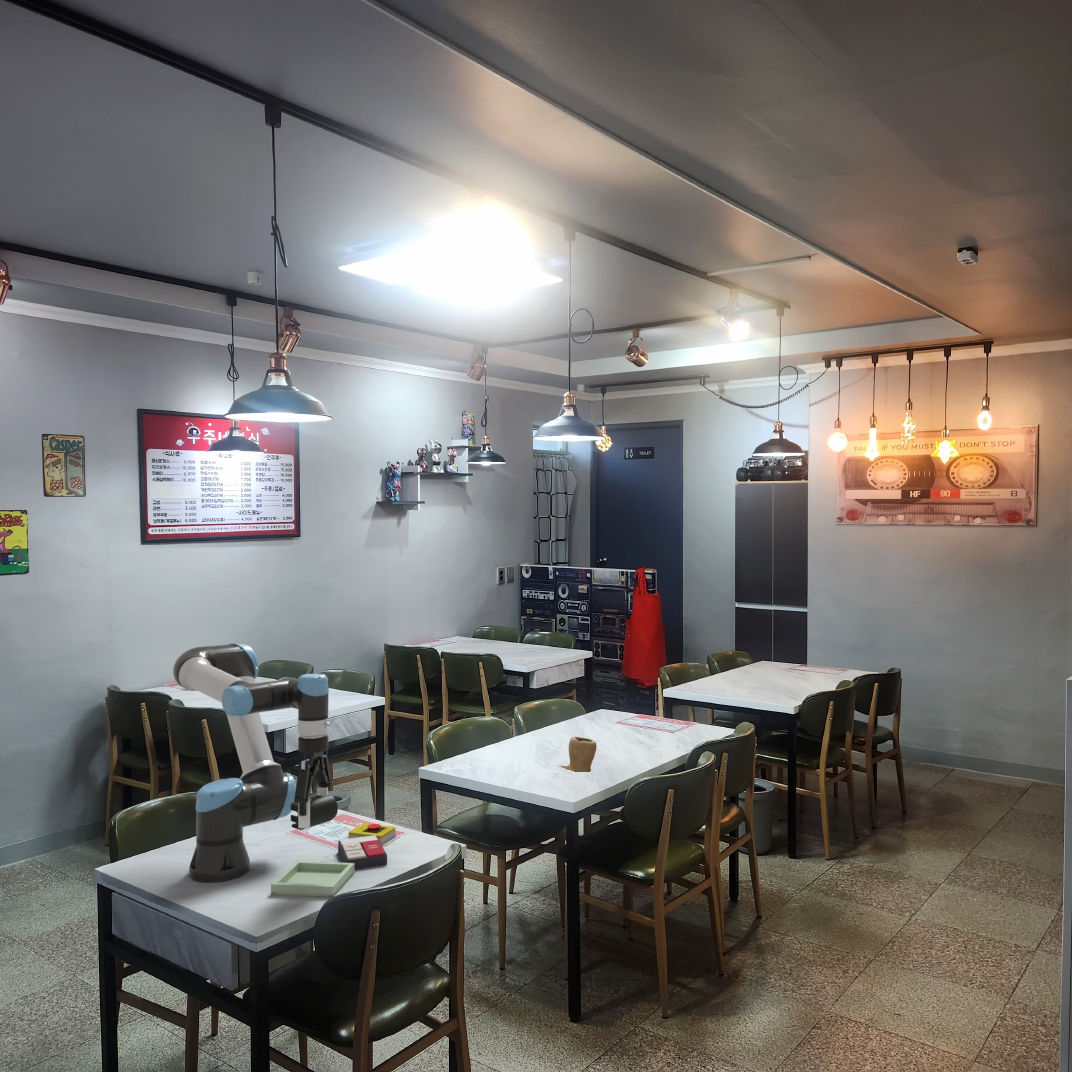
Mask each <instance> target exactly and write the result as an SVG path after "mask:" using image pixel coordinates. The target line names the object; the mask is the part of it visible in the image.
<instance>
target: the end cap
mask: <svg viewBox="0 0 1072 1072" xmlns="http://www.w3.org/2000/svg"><path fill="white" fill-rule="evenodd" d="M309 801H310V828H312V827H316V826H318V825H322V824H325V823H329V822H332V821H333V819H335V818H336V816H337V815H338V811H339V807H338V806H339V805H338V802H337V800H336V798H335V797H334V796H333V795H331V794H328V796H324V797H322V796H319V795H317V794H316V795H314V796H309ZM290 809H291V810H292V811H291V812H293V811H294V812H296V814H297V815H294V814H290V822H293V823H292V824H291V828H293V829H296V830H299V831H303V830H306V829H307V828H298V802H293V803H291V808H290Z"/></svg>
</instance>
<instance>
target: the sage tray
mask: <svg viewBox="0 0 1072 1072" xmlns="http://www.w3.org/2000/svg"><path fill="white" fill-rule="evenodd" d="M355 870H356V869H355V865H354V863H343V862H333V861H331V862H330V861H329V862H328V861H309V860H307V861H305V860H303V861H301V860H296V861H295V862H293V864H291V865H290V866H288V868H286V870H285V871H284V872H283V873H281V875H279V876H278V877H277V878H276V879H275V880H274V881H273V882H272V883H271V884H270V895H277V896H283V895H284V896H301V897H302V896H303V897H320V898H321V897H323V898H325V897H326V898H334V897H335V896H336V894H337V893H339V891H340V890H341V889H342V888H343V886H344V885H346V883H347V882H348V881H349V879H350V878H351V877H352V876H353V875H354V874H355V872H356V871H355Z"/></svg>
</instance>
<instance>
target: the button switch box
mask: <svg viewBox="0 0 1072 1072" xmlns="http://www.w3.org/2000/svg"><path fill="white" fill-rule="evenodd" d="M342 839H343V840H342ZM342 839H340V840H338V842H337V853H338V856H339V857H340V859H341V861H342V862H341V863H354V865H355V870H357V869H358V870H359V869H360V870H361V869H366V868H373V867H380V866H386V865H388V854H387V852H386V850H385V849H384V846H382V845H381V843H380V841H379V839H378V838H377V836H375V835H373V836H366V837H358V838H351V839H344V838H342Z"/></svg>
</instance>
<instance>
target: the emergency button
mask: <svg viewBox="0 0 1072 1072" xmlns="http://www.w3.org/2000/svg"><path fill="white" fill-rule="evenodd" d="M396 833H397V832H396V827H395V826H391V825H383V824H379V823H362V824H359V825H357V826H356V827H354V828H352V829H350V830H349V831H348V835H347V836H345V837H344V838H342V839H341V840H343V839H351V838H358V837H366V836H373V835H375V836H377V838H378V839H379V841H380V843H381V845H382V847H386V846H389V845H390V844H392V843H393V842H394V841H396V840H397V839H399V838H400V837H401V835H398V834H396Z"/></svg>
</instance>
